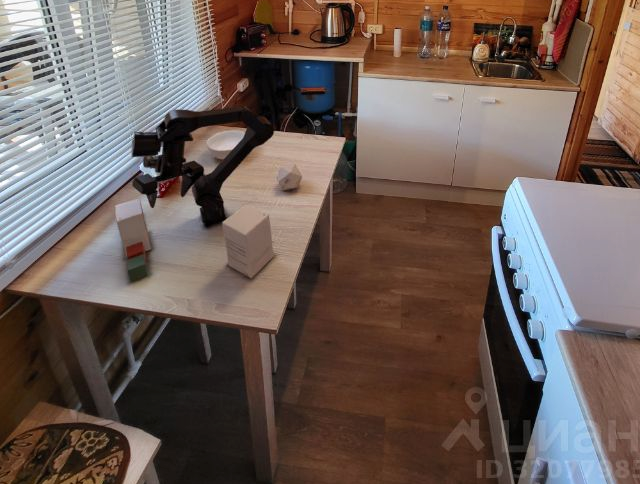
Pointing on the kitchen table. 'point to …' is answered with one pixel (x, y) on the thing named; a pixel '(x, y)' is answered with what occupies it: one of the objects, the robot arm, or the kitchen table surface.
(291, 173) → the die
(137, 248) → the brick red block
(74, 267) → the kitchen table surface
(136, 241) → the small box
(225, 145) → the cereal bowl
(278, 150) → the kitchen table surface
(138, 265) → the dark green block
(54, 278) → the kitchen table surface
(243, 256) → the rectangular carton
